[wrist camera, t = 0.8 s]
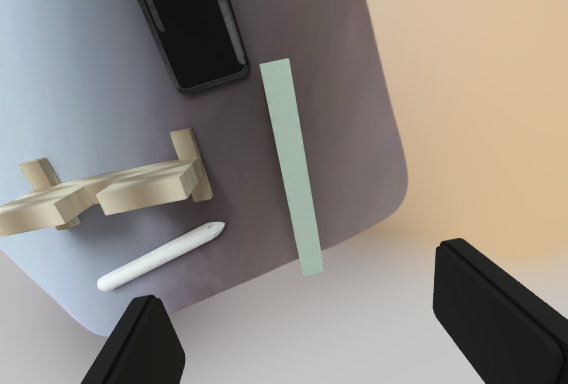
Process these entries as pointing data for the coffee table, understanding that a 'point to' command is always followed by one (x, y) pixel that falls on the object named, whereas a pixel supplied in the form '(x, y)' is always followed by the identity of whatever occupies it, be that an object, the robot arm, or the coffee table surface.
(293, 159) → the mint green slab
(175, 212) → the coffee table surface
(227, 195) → the coffee table surface
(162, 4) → the phone
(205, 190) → the slotted wooden stand
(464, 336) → the robot arm
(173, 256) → the marker
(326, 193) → the coffee table surface
